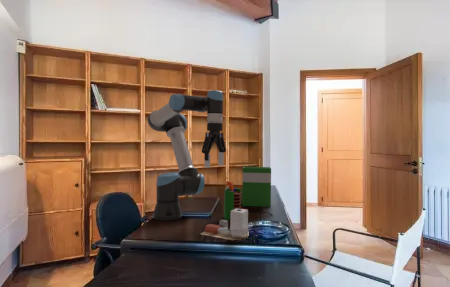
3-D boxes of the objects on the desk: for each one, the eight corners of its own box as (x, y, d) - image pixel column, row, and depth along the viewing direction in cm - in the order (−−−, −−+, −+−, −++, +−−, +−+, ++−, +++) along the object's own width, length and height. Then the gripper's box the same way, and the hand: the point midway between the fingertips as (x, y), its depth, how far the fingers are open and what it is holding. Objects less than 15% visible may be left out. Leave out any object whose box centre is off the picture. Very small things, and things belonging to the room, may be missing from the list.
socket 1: (217, 230, 133) (217, 221, 133) (221, 227, 137) (221, 219, 137) (225, 231, 132) (225, 222, 132) (229, 228, 135) (229, 220, 135)
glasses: (235, 212, 171) (236, 203, 171) (261, 210, 177) (261, 202, 177) (245, 218, 158) (246, 209, 158) (273, 216, 164) (273, 207, 163)
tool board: (200, 236, 128) (200, 234, 128) (214, 228, 139) (214, 226, 139) (251, 246, 117) (251, 243, 117) (262, 236, 129) (262, 234, 128)
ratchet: (202, 233, 129) (203, 216, 129) (211, 228, 136) (212, 212, 136) (244, 240, 120) (244, 222, 120) (251, 235, 127) (251, 218, 127)
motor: (239, 222, 149) (239, 183, 148) (221, 221, 150) (222, 182, 150) (242, 217, 159) (242, 180, 158) (225, 216, 160) (226, 179, 160)
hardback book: (269, 204, 192) (270, 167, 191) (270, 206, 184) (271, 168, 184) (242, 203, 193) (243, 166, 193) (242, 205, 186) (242, 167, 185)
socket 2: (230, 230, 124) (230, 210, 124) (235, 226, 129) (236, 207, 129) (242, 232, 122) (242, 212, 121) (247, 228, 127) (248, 209, 126)
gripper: (208, 121, 131) (208, 169, 131) (232, 123, 153) (232, 164, 154) (194, 121, 134) (193, 168, 135) (219, 124, 156) (219, 163, 157)
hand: (214, 166), depth 144 cm, fingers open, 13 cm apart
